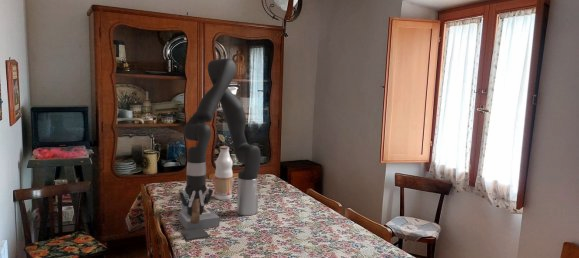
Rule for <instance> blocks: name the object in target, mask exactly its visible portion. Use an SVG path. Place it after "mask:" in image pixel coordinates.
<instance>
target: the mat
mask: <svg viewBox="0 0 579 258" xmlns="http://www.w3.org/2000/svg"><path fill="white" fill-rule="evenodd" d="M180 233H181V235H183V237H184V239H185V241H192V240H193V241H194V240H198V239H205V238H210V235H209V234H208V232H207V231H206V230H205V228H204V229H203V228H200V229H193V230H186V229H185V230H182V231H181V232H180Z"/></svg>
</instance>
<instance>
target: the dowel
mask: <svg viewBox="0 0 579 258" xmlns="http://www.w3.org/2000/svg"><path fill="white" fill-rule="evenodd" d="M191 207H192V216H191V218H190V223H192V224H198V223H199V222H200V198H194V199H193V202H192V206H191Z"/></svg>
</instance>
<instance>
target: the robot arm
mask: <svg viewBox="0 0 579 258" xmlns="http://www.w3.org/2000/svg"><path fill="white" fill-rule="evenodd" d="M207 73H208V76H209V78H210V79H209V80H210V81H211V84H212V87H210V89H209V90H208V91H206V93H205V94H204V95H203V96H202V97H201V100H200V102H199V104H198V106H197V109H196V111H195V113H193V115H192V116H191V117H190V119H188V121H187V122H186V124H185V125H184V128H183V136H184V138H185V139H186V140H188V141H193V142H194V141H195V142H197V145H196V146H190V147H188V149H187V164H186V178H185V180H186V183H185V187H184V188H185V190H183V191H182V190H179V191H178V196H179V198H180V201H181V205H182V204H183V205H184V206H187V214H188V215H189V216H192V207H191V206H192V202H193V199H194V198H200V215H202V213H203V208H204V207H205V205H208V204H209V201H210V199H211V196H212V194H213V189H212V188H210V187H209V188H208V187H207V185H206V184H207V182H206V181H207V164H206V162H207V161H206V160H207V159H206V158H207V149H208V147H209V146H208V145H209V142H210V140H211V137H212V130H211V126H209V125H208V124H207V123H209V122H211V121H212V120H213V117H214V116H215V113H216V110H217V108H218V105H219V104H220V107H221V109H222V113H223V116H224V119H225V123H226V124H227V127H228V131H229V134H230V137H231V141H232V147H233V149H234V154H235V158H236V160H237V161H238V162H240V163H242V164H244V167H243V169H241V170H239V171H238V173H237V179H238V180H237V195H236V196H237V198H236V200H237V201H236V203H237V204H236V214H238V215H240V216H253V215H255V214H258V213H259V212H258V211H259V193H258V176H259V173H260V170H261V169H260V167H261V150H260V148H259V147H258V146H257V145H254V144H249V143H248V141H247V138H246V135H245V127H246V122H247V118H246V117H247V116H246V113H245V109H244V107H243V104H242V102H241V101H240V100H239V99H238V97H236V96H235V95H234V93H232V91H231V90H230V88H229V86H230V85H231V83H232V82H233V80H234V78H235V76H236V73H237V66H236V63H235V61H233V60H232V59H231V58H219V59H213V60H210V61H209V62H208V64H207ZM185 193H187V194H188V195H189V196H188V201H187V202H186V200H185V198H184V196H185ZM204 193H205V199H204V200H203V194H204Z"/></svg>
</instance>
